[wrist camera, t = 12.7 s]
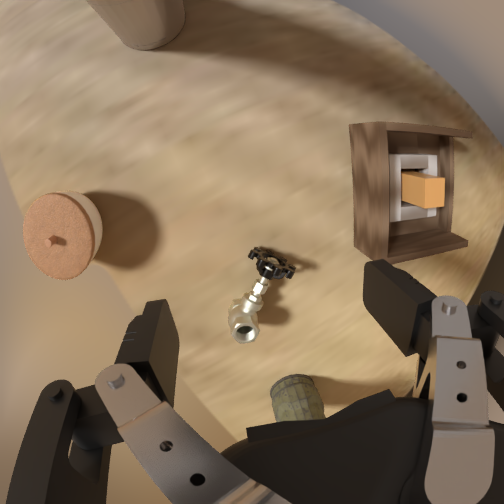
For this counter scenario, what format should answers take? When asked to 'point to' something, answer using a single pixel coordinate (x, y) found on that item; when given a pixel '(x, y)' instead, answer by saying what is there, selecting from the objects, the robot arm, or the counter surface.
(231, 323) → the valve
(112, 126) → the counter surface
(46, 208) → the lidded jar
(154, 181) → the counter surface
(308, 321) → the counter surface
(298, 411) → the thermos
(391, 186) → the inlet box
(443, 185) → the orange rectangular block
